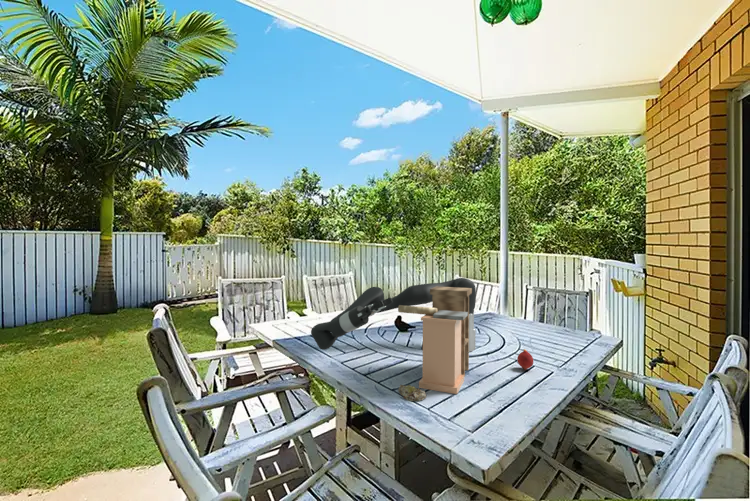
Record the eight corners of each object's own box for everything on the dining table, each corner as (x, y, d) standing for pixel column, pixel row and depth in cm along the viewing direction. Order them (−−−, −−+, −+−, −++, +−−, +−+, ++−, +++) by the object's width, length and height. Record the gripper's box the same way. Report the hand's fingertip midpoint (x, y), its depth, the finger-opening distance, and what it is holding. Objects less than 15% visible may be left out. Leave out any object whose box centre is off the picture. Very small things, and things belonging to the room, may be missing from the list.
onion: (532, 368, 142) (532, 348, 142) (534, 372, 136) (534, 352, 136) (516, 366, 144) (517, 346, 144) (517, 371, 138) (517, 350, 138)
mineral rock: (433, 390, 115) (417, 389, 110) (431, 404, 114) (415, 404, 109) (409, 381, 123) (393, 381, 118) (407, 394, 122) (390, 394, 117)
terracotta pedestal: (418, 387, 122) (419, 317, 122) (429, 375, 134) (429, 311, 134) (457, 394, 117) (457, 321, 117) (464, 380, 129) (464, 314, 128)
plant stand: (429, 372, 137) (429, 289, 136) (436, 364, 146) (436, 286, 145) (466, 378, 131) (467, 291, 130) (471, 369, 140) (471, 288, 139)
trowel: (394, 314, 128) (394, 307, 128) (403, 310, 136) (403, 303, 136) (463, 320, 118) (463, 312, 118) (467, 315, 126) (467, 308, 126)
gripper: (340, 313, 134) (374, 294, 128) (358, 307, 147) (389, 290, 141) (349, 332, 132) (384, 313, 126) (366, 324, 145) (398, 307, 139)
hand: (387, 301), depth 134 cm, fingers open, 8 cm apart
